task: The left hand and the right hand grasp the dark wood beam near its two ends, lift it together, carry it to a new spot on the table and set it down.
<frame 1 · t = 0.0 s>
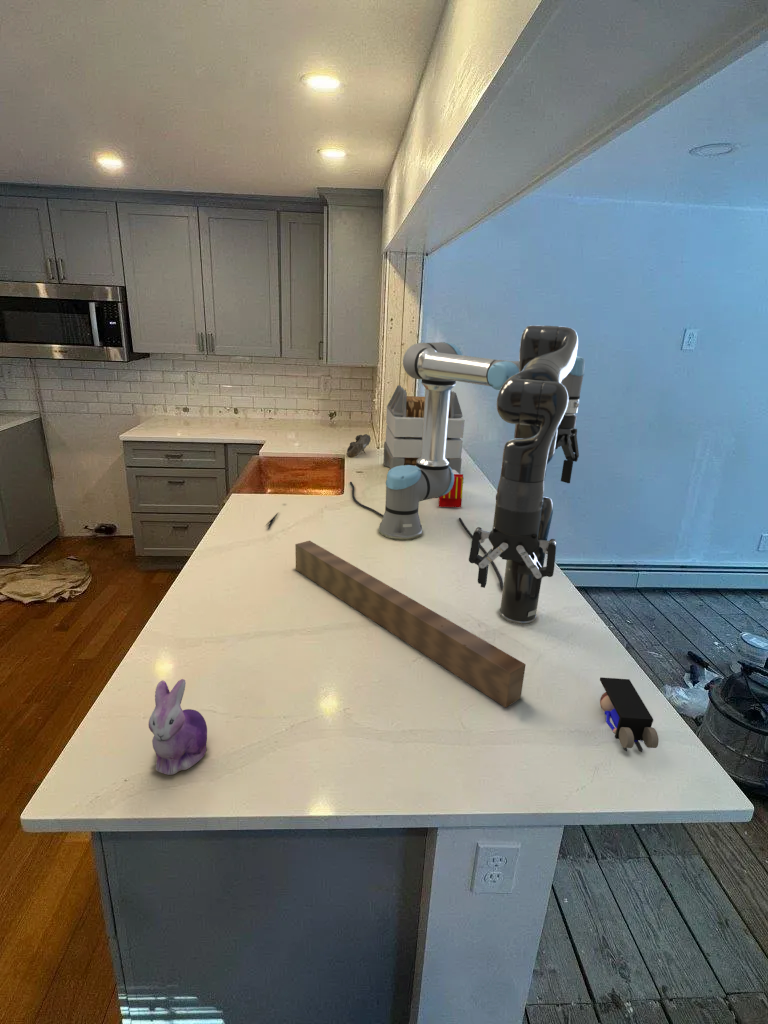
left hand: (552, 485, 166), 28 cm above the counter, tool pointing down, fingers open, 13 cm apart
right hand: (507, 590, 99), 29 cm above the counter, tool pointing down, fingers open, 8 cm apart
figurine character: (621, 732, 109), on the counter
feather: (276, 516, 211), on the counter
beam: (387, 622, 143), on the counter
figurine: (182, 757, 98), on the counter
fossil: (358, 453, 307), on the counter
red striped box: (445, 497, 242), on the counter
transformer: (419, 473, 275), on the counter
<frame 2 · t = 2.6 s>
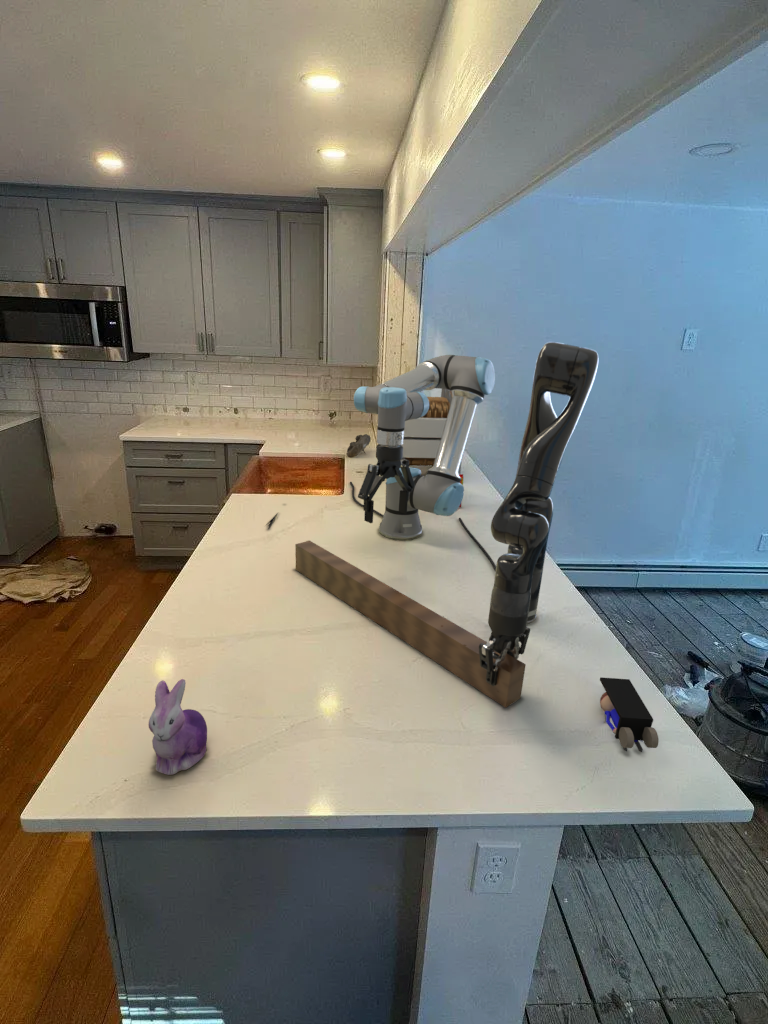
left hand: (386, 517, 164), 18 cm above the counter, tool pointing down, fingers open, 13 cm apart
right hand: (499, 678, 117), 4 cm above the counter, tool pointing down, fingers closed on beam, 5 cm apart
beam: (387, 622, 143), on the counter, touching right hand
everything else where it was.
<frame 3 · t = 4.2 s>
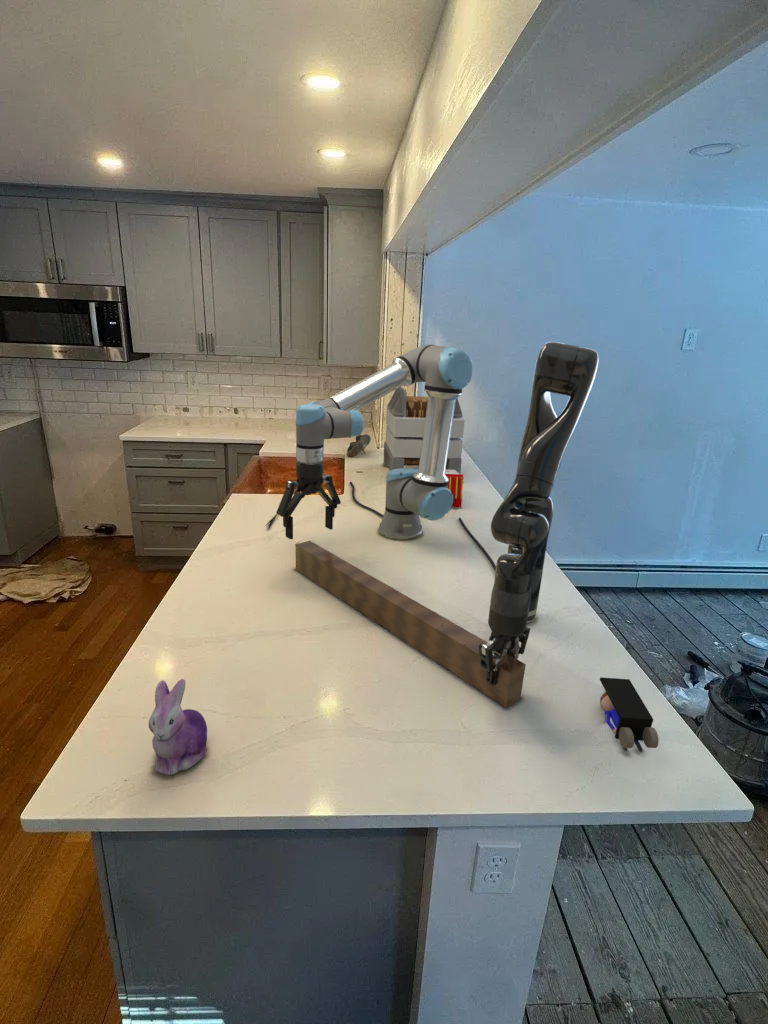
left hand: (309, 532, 164), 13 cm above the counter, tool pointing down, fingers open, 13 cm apart
right hand: (499, 678, 117), 4 cm above the counter, tool pointing down, fingers closed on beam, 5 cm apart
beam: (387, 622, 143), on the counter, touching right hand
everything else where it was.
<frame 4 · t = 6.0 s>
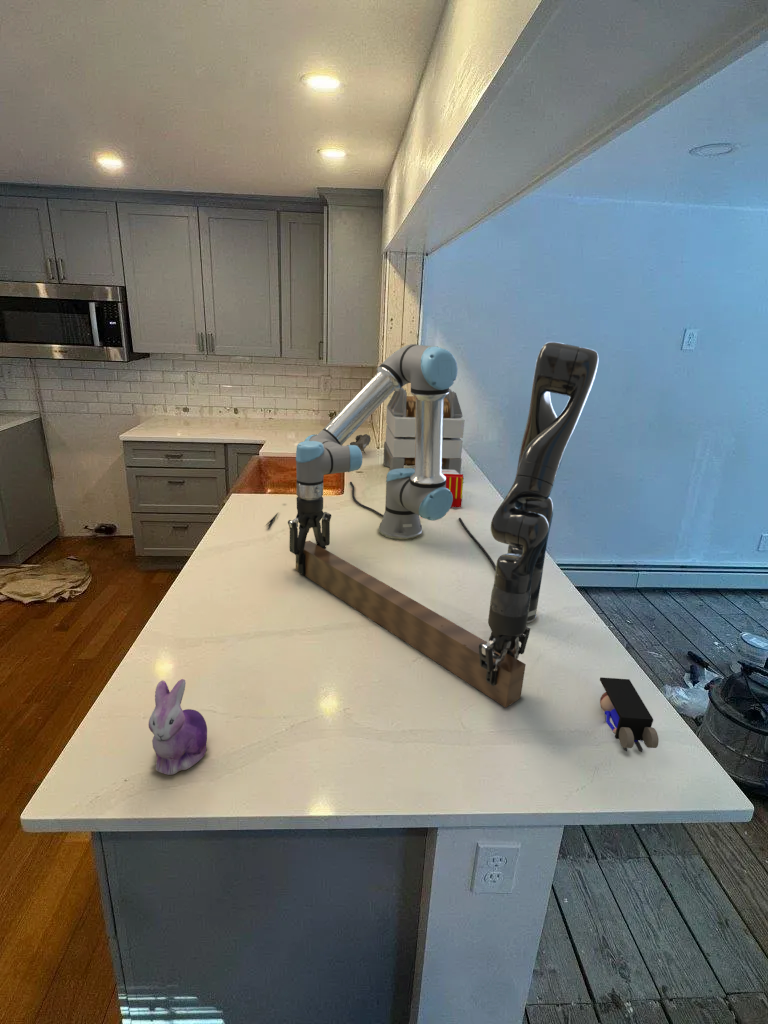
left hand: (310, 570, 168), 1 cm above the counter, tool pointing down, fingers closed on beam, 5 cm apart
right hand: (499, 678, 117), 4 cm above the counter, tool pointing down, fingers closed on beam, 5 cm apart
beam: (387, 622, 143), on the counter, touching left hand, right hand
everything else where it was.
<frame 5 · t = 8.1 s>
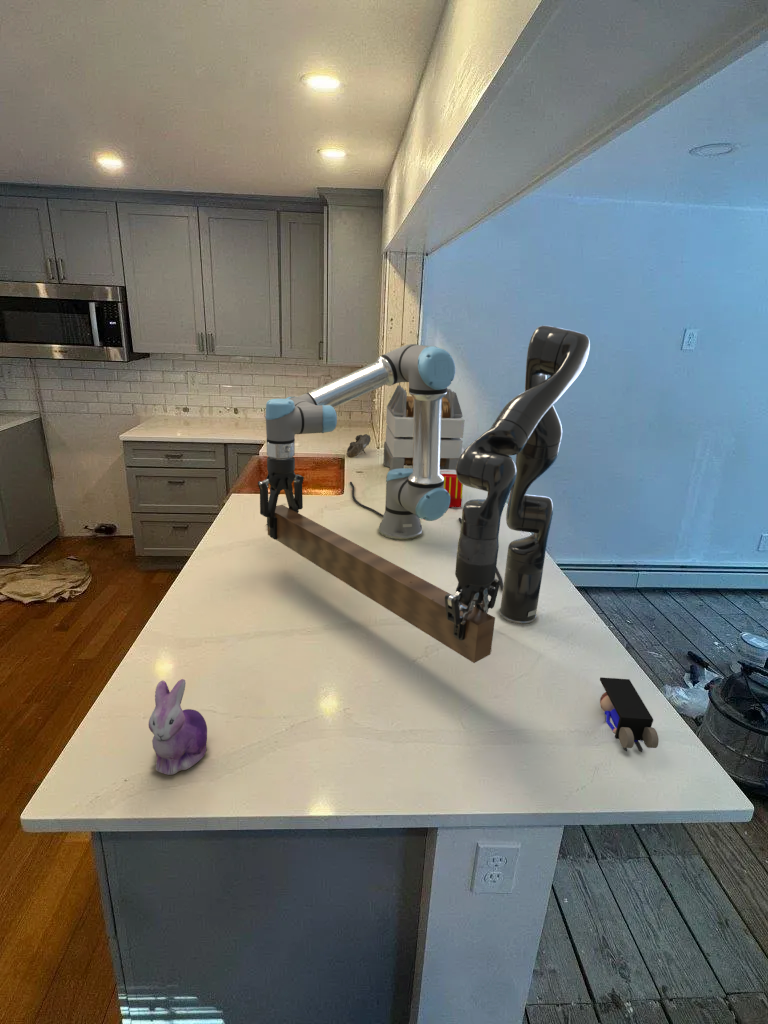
left hand: (282, 535, 163), 12 cm above the counter, tool pointing down, fingers closed on beam, 5 cm apart
right hand: (468, 633, 112), 15 cm above the counter, tool pointing down, fingers closed on beam, 5 cm apart
beam: (358, 583, 138), point 11 cm above the counter, touching left hand, right hand
everything else where it was.
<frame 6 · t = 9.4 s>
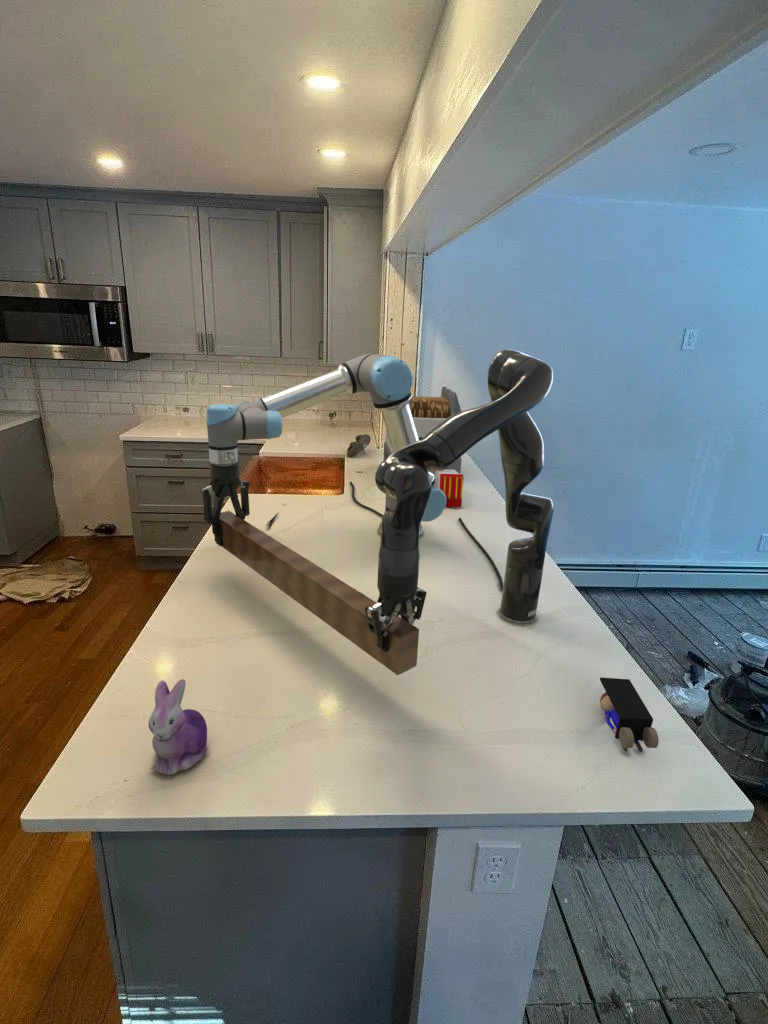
left hand: (228, 542, 161), 10 cm above the counter, tool pointing down, fingers closed on beam, 5 cm apart
right hand: (394, 644, 110), 13 cm above the counter, tool pointing down, fingers closed on beam, 5 cm apart
beam: (296, 591, 136), point 10 cm above the counter, touching left hand, right hand
everything else where it was.
when the left hand's fingers open (1 cm above the counter, at t = 10.5 s): beam stays where it is, on the counter.
when the right hand's fingers open (4 cm above the counter, at t = 10.7 s): beam stays where it is, on the counter.
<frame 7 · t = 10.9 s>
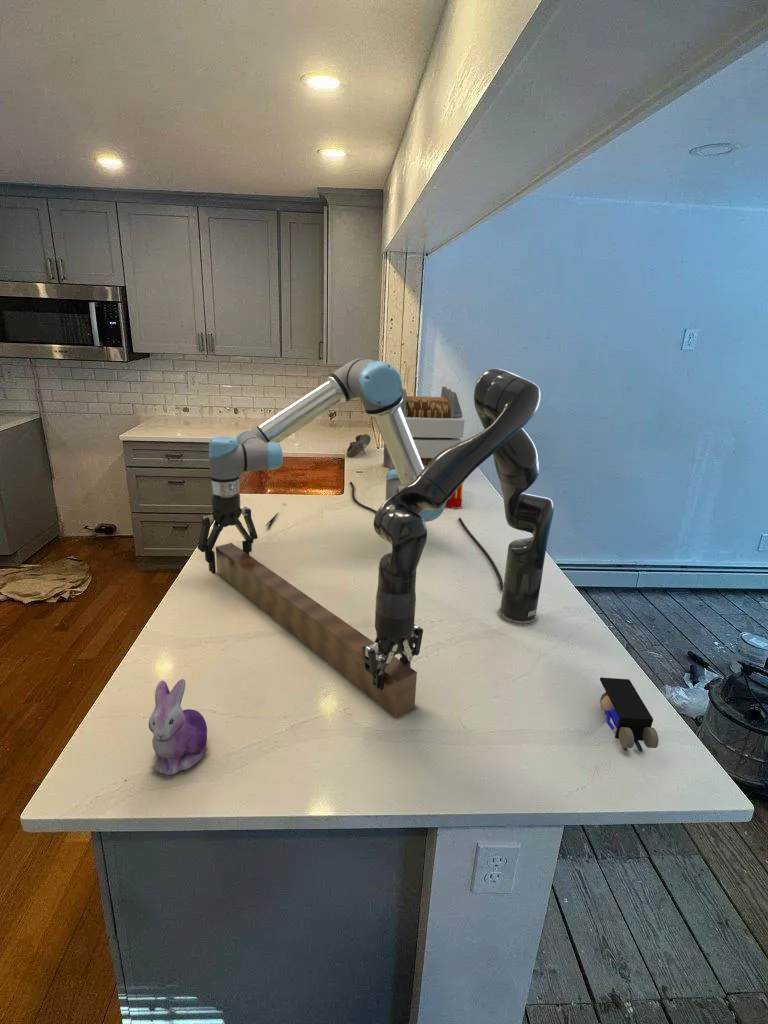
left hand: (229, 567, 163), 3 cm above the counter, tool pointing down, fingers open, 10 cm apart
right hand: (391, 681, 113), 5 cm above the counter, tool pointing down, fingers open, 6 cm apart
beam: (297, 627, 139), on the counter
everything else where it was.
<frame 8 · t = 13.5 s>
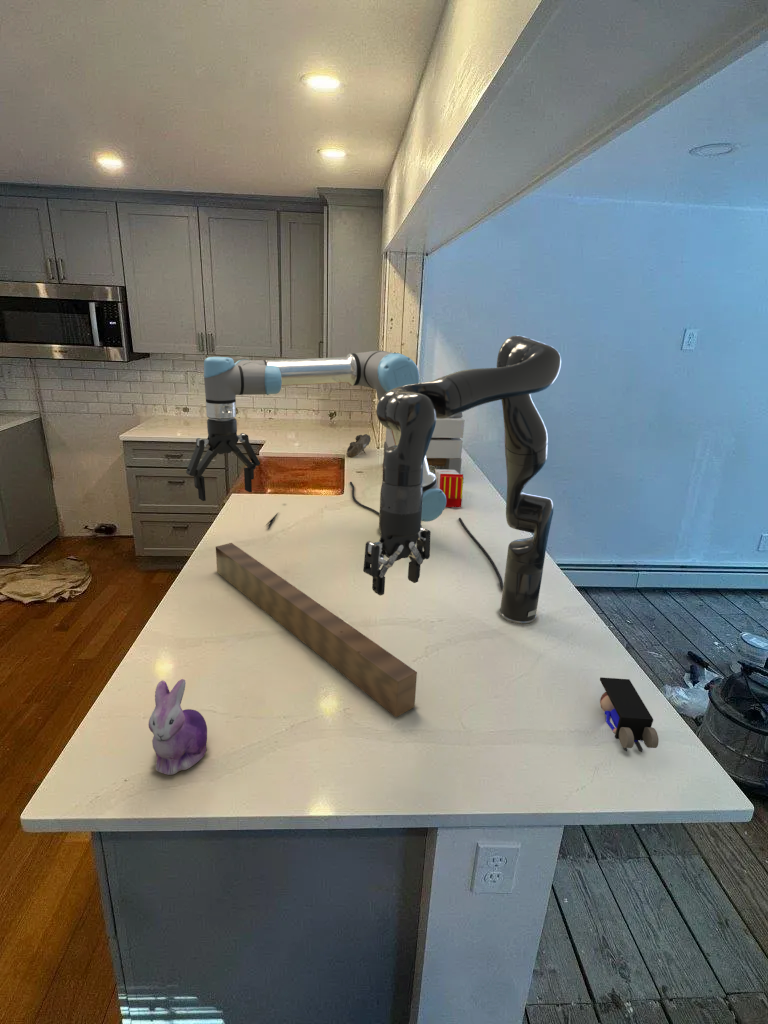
left hand: (225, 495, 156), 24 cm above the counter, tool pointing down, fingers open, 13 cm apart
right hand: (396, 587, 106), 26 cm above the counter, tool pointing down, fingers open, 8 cm apart
nothing on the counter moved.
at the end: beam inside the target area (0.3 cm from its centre), on the counter; beam tilted 0°; beam never tilted more than 2° during the clip; both hands held the beam at the same time; the left hand is holding nothing; the right hand is holding nothing; beam at rest at the end (0.0 cm/s) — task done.
